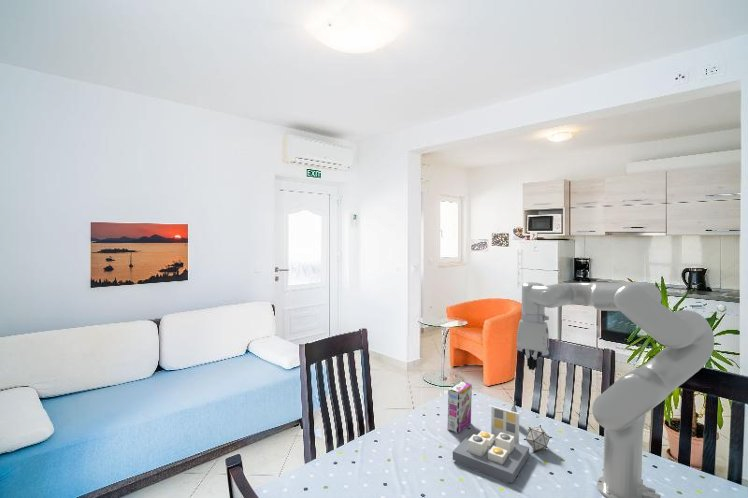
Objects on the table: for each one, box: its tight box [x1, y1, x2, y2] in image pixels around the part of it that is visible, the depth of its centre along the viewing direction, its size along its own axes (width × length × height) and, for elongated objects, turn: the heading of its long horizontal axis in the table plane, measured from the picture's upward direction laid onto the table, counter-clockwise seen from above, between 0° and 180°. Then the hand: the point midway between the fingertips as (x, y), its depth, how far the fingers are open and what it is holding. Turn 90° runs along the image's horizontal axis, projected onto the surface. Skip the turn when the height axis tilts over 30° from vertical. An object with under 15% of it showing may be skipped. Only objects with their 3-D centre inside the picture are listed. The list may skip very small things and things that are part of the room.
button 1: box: [468, 434, 487, 457], centre depth 130 cm, size 5×5×5 cm
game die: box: [523, 424, 553, 454], centre depth 136 cm, size 9×8×10 cm
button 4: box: [488, 446, 508, 465], centre depth 126 cm, size 5×5×5 cm
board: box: [452, 429, 530, 484], centre depth 131 cm, size 20×18×4 cm
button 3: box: [496, 432, 514, 455], centre depth 131 cm, size 5×5×5 cm
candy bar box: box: [447, 381, 473, 434], centre depth 152 cm, size 11×5×16 cm, turn 139°
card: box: [490, 405, 520, 444], centre depth 142 cm, size 10×3×12 cm, turn 53°
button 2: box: [478, 430, 494, 448], centre depth 135 cm, size 5×5×5 cm
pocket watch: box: [510, 400, 518, 413], centre depth 154 cm, size 8×8×10 cm
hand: (532, 368), depth 136 cm, fingers closed
